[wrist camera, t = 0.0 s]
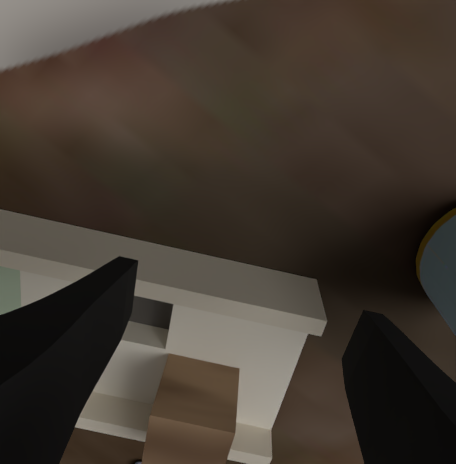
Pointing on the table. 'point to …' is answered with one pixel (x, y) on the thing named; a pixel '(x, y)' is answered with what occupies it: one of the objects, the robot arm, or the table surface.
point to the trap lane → (172, 322)
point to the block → (192, 413)
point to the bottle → (440, 266)
